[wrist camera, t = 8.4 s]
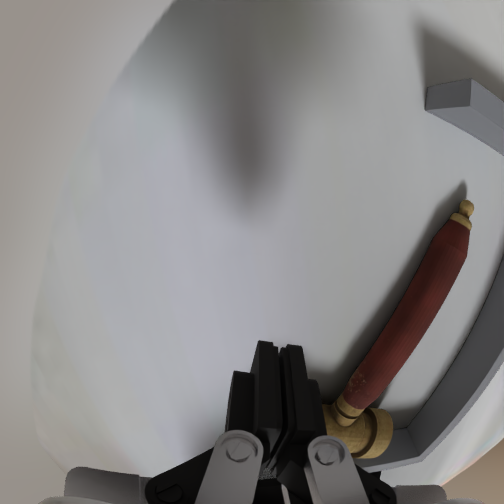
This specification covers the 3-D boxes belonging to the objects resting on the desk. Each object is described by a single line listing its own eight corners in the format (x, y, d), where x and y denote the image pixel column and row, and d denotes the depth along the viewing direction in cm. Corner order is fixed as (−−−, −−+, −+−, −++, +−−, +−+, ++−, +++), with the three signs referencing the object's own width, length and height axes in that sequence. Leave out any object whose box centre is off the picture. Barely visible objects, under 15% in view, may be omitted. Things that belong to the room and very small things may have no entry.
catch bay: (535, 160, 13) (570, 169, 9) (410, 434, 23) (421, 461, 19) (427, 87, 12) (471, 78, 8) (303, 444, 22) (308, 479, 18)
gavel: (440, 158, 11) (525, 242, 12) (395, 157, 15) (484, 226, 16) (257, 460, 16) (366, 468, 17) (254, 415, 20) (353, 431, 22)
